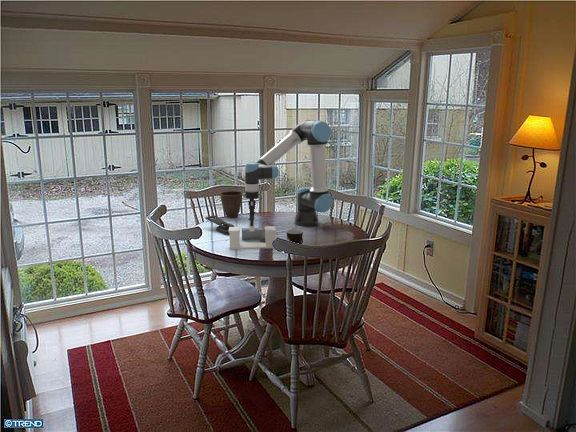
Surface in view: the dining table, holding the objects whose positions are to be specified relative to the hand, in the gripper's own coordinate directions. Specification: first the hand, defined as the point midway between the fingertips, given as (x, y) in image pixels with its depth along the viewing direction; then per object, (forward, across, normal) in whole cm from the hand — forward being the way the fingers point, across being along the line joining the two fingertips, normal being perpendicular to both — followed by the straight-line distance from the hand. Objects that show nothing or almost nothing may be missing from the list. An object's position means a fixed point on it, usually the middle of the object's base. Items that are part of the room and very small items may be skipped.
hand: (251, 228), depth 276 cm
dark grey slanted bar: (+7, -20, -18) cm, 28 cm away
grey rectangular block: (+7, 0, 0) cm, 7 cm away
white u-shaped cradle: (+7, +14, 0) cm, 15 cm away
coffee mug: (+6, +23, +22) cm, 33 cm away
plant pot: (+6, -53, -14) cm, 55 cm away
